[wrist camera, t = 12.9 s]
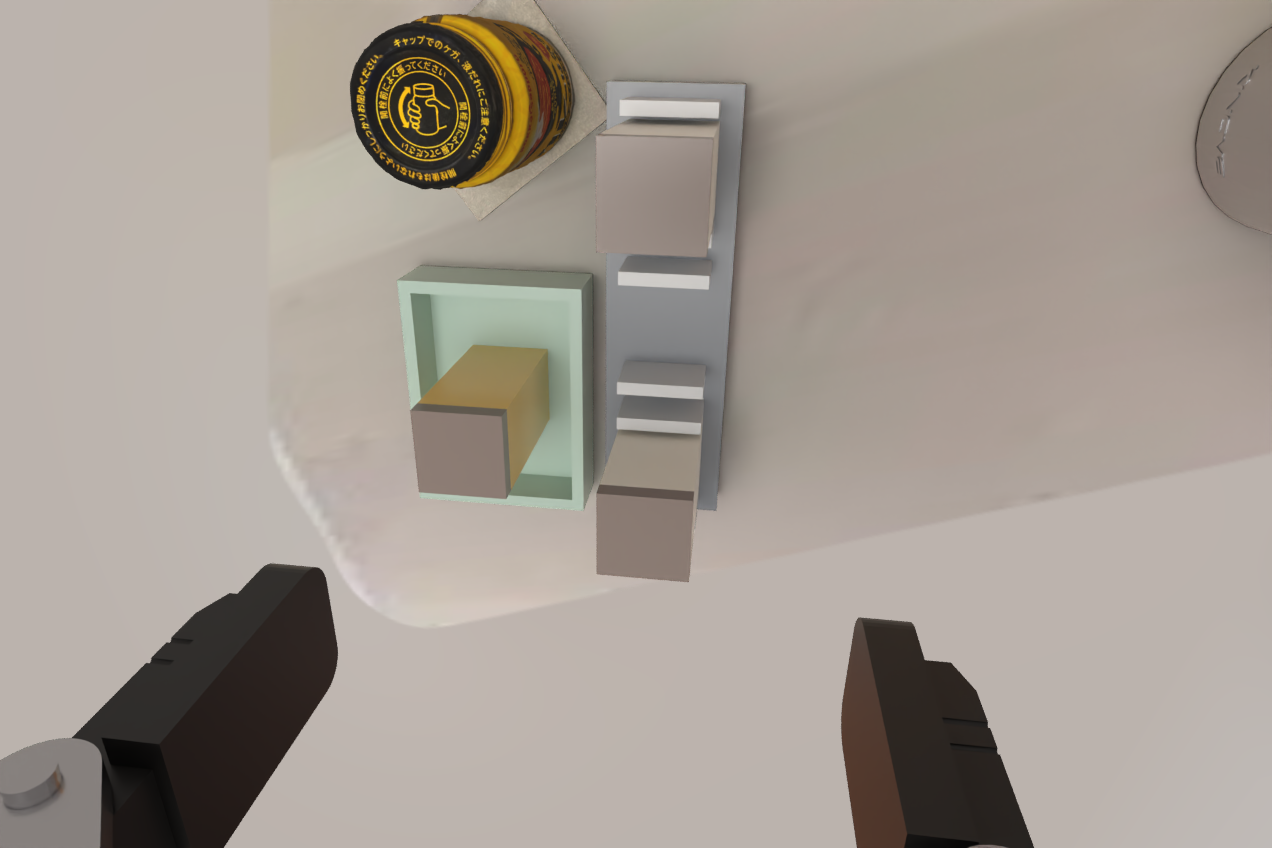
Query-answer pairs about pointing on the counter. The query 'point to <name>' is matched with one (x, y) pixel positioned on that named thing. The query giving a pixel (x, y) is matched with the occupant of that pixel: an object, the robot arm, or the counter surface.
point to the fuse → (481, 421)
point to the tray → (512, 317)
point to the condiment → (472, 101)
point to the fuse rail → (664, 314)
